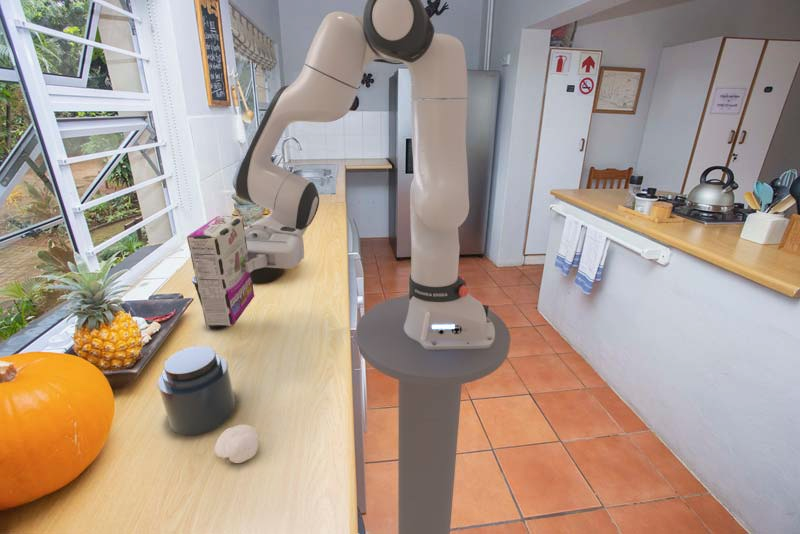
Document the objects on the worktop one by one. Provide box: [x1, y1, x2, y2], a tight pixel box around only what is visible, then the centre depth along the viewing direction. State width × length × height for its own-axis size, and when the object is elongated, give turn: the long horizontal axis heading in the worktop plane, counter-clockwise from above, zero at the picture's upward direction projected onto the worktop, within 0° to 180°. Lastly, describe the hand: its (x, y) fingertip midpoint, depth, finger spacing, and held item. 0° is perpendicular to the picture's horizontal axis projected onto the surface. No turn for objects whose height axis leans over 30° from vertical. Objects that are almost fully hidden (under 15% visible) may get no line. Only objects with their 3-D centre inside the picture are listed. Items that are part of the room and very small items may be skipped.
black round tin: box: [251, 267, 284, 285], centre depth 130 cm, size 14×18×8 cm
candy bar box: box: [186, 215, 255, 327], centre depth 67 cm, size 11×5×16 cm, turn 0°
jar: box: [157, 345, 236, 437], centre depth 69 cm, size 11×11×12 cm
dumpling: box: [214, 424, 259, 464], centre depth 63 cm, size 7×5×4 cm
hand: (227, 267), depth 69 cm, fingers closed on candy bar box, 5 cm apart
